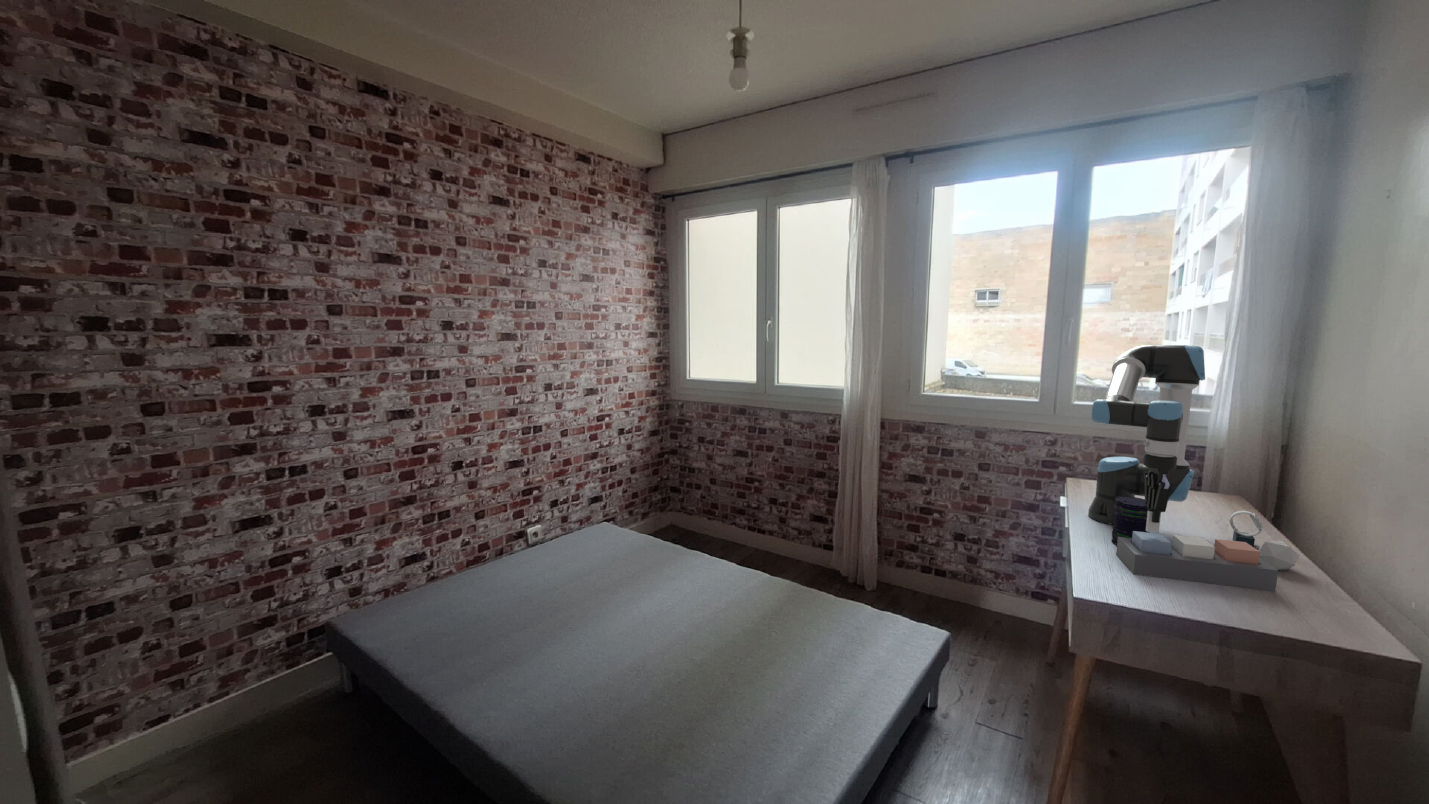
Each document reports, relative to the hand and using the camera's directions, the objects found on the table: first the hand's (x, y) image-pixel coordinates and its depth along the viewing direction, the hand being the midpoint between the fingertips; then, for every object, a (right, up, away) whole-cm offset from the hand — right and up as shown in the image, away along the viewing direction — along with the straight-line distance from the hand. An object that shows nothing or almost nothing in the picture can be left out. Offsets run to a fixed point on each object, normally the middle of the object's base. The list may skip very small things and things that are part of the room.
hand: (1152, 531), depth 159 cm
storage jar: (+7, -9, +18) cm, 21 cm away
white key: (+10, -7, -2) cm, 12 cm away
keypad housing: (+10, -11, -2) cm, 15 cm away
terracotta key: (+19, -7, -6) cm, 21 cm away
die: (+37, -11, 0) cm, 39 cm away
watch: (+44, -8, +17) cm, 48 cm away
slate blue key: (0, -7, +1) cm, 7 cm away
